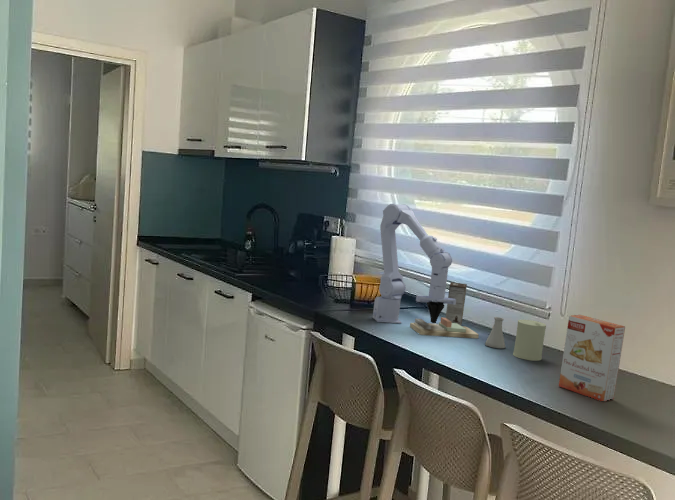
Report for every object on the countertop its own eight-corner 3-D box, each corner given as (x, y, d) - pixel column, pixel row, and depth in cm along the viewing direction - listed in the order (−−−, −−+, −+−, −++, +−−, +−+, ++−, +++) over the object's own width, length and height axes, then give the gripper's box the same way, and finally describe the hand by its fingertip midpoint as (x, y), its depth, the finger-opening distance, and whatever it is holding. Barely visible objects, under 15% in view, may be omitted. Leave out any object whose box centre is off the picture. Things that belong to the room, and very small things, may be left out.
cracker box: (557, 387, 196) (568, 314, 194) (569, 384, 200) (579, 313, 198) (603, 403, 185) (614, 326, 183) (614, 400, 189) (626, 325, 187)
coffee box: (445, 321, 273) (450, 281, 271) (461, 324, 271) (467, 283, 270) (444, 326, 264) (449, 284, 262) (461, 328, 262) (466, 287, 261)
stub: (446, 331, 247) (448, 322, 247) (438, 325, 256) (439, 316, 256) (465, 332, 249) (467, 323, 249) (456, 326, 258) (457, 318, 257)
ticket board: (420, 334, 244) (421, 325, 244) (409, 326, 256) (410, 317, 255) (478, 338, 249) (479, 329, 248) (465, 330, 260) (466, 321, 260)
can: (526, 361, 223) (531, 324, 221) (507, 353, 231) (511, 318, 229) (547, 360, 227) (552, 324, 226) (527, 352, 235) (532, 318, 234)
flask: (507, 346, 241) (511, 318, 240) (503, 350, 234) (507, 321, 233) (487, 342, 244) (490, 314, 243) (482, 346, 237) (486, 317, 236)
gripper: (422, 286, 244) (417, 323, 245) (460, 289, 247) (456, 326, 248) (416, 282, 251) (411, 319, 252) (453, 285, 254) (449, 321, 255)
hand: (433, 322), depth 251 cm, fingers closed
